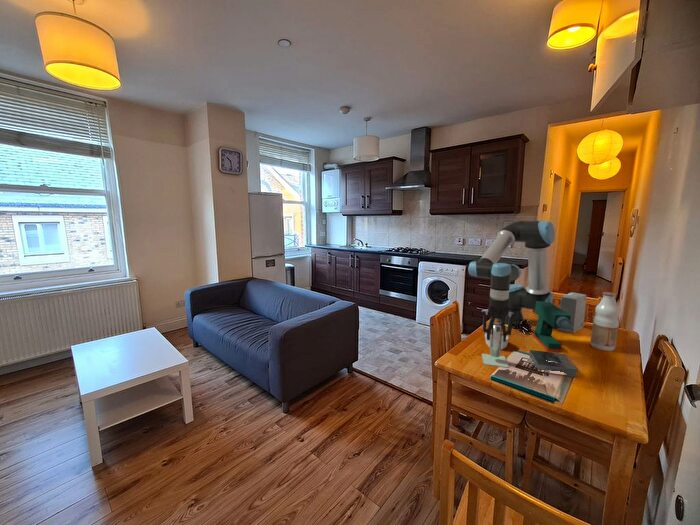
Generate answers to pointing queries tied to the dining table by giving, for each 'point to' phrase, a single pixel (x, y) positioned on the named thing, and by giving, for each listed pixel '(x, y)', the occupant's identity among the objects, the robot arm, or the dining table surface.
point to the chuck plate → (562, 359)
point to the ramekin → (503, 342)
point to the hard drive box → (574, 310)
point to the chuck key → (496, 339)
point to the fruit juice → (605, 323)
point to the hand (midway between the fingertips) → (495, 347)
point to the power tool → (550, 324)
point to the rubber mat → (494, 360)
